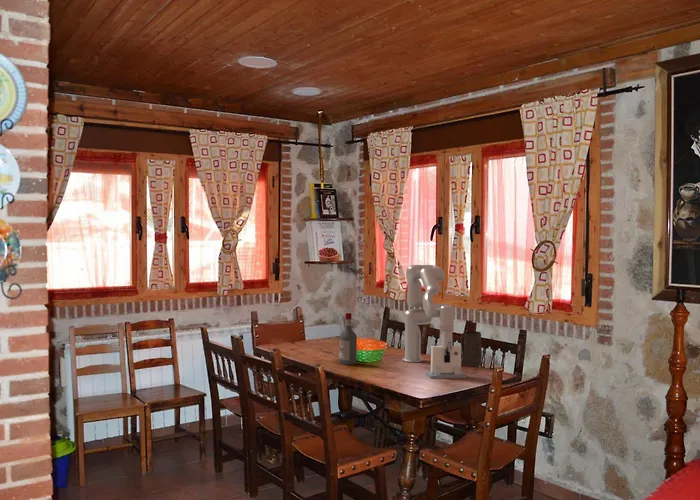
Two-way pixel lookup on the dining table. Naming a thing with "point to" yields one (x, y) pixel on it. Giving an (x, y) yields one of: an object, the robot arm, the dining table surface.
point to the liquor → (348, 344)
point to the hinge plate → (446, 375)
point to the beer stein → (471, 348)
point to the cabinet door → (438, 359)
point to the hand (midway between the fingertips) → (446, 361)
